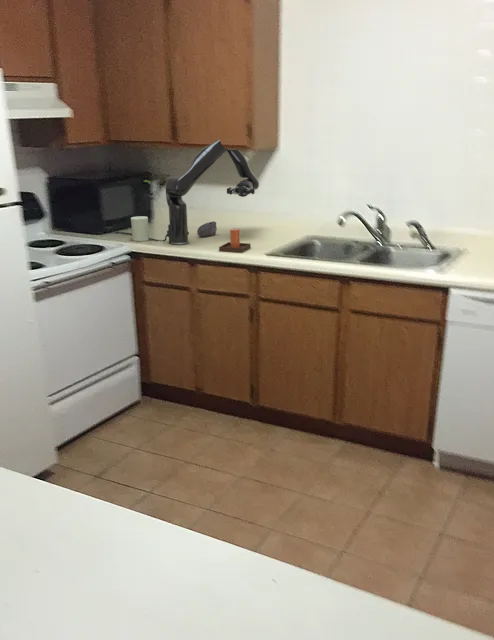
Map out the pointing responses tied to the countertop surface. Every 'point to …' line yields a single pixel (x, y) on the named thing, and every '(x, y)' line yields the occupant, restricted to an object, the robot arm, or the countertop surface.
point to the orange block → (235, 238)
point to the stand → (242, 248)
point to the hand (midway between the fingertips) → (238, 192)
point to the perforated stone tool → (207, 229)
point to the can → (140, 228)
